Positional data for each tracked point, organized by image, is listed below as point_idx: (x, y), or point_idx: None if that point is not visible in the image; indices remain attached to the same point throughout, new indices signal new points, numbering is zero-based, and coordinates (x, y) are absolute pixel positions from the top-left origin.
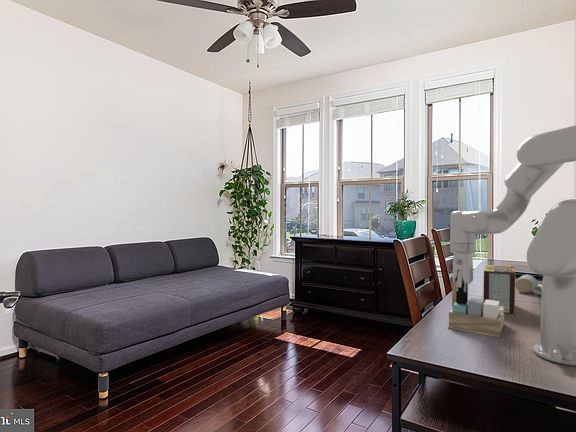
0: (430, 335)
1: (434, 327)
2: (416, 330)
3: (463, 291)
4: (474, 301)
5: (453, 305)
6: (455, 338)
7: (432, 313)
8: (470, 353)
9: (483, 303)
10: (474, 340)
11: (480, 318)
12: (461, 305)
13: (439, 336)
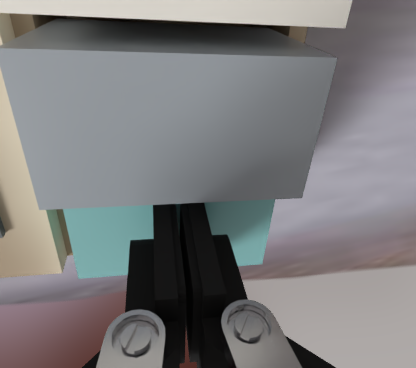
0: (389, 215)
1: (274, 230)
2: (343, 265)
3: (267, 327)
4: (249, 146)
5: (260, 258)
6: (403, 127)
7: (39, 293)
8: None
9: (76, 39)
10: (412, 36)
11: (302, 31)
12: (248, 218)
13: (392, 187)
